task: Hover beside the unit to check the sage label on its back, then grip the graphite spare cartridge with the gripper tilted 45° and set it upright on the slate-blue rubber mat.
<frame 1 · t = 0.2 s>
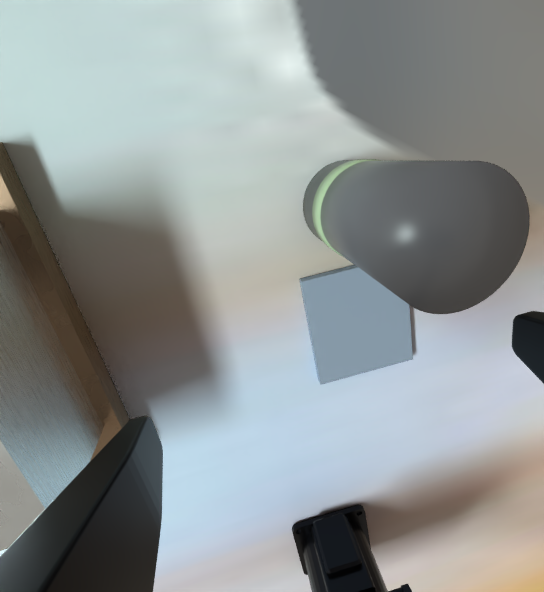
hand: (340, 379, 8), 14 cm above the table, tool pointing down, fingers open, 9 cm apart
spare cartridge: (343, 204, 22), on the table
slate mat: (357, 319, 25), on the table
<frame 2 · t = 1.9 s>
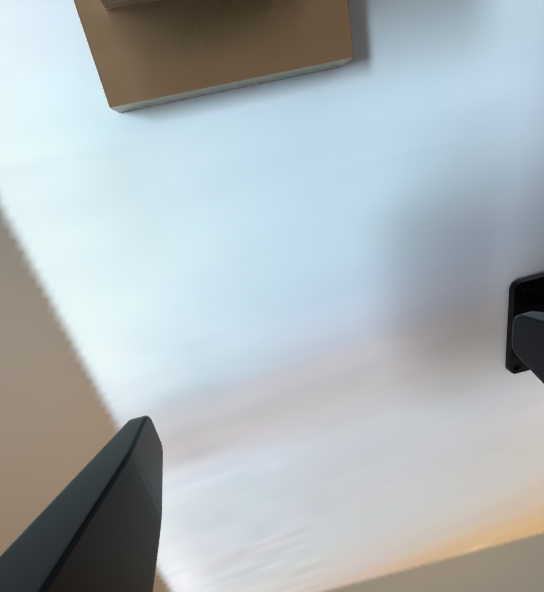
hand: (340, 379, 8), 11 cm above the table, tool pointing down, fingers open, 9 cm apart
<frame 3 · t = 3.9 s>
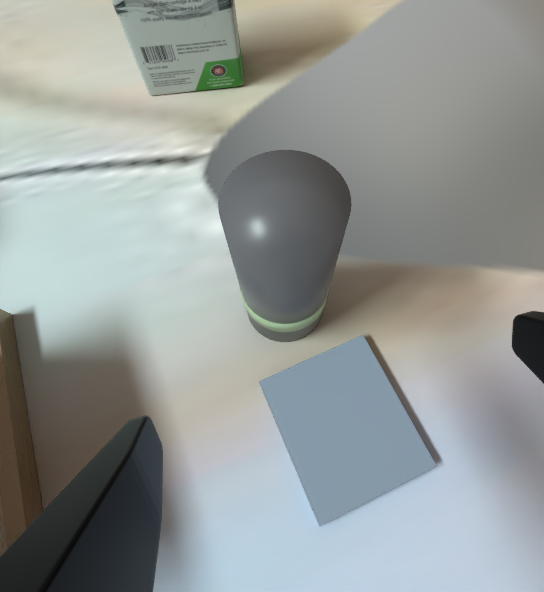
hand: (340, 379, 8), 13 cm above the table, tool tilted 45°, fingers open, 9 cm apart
ink box: (196, 76, 33), on the table
spare cartridge: (284, 305, 24), on the table
slate mat: (341, 422, 21), on the table
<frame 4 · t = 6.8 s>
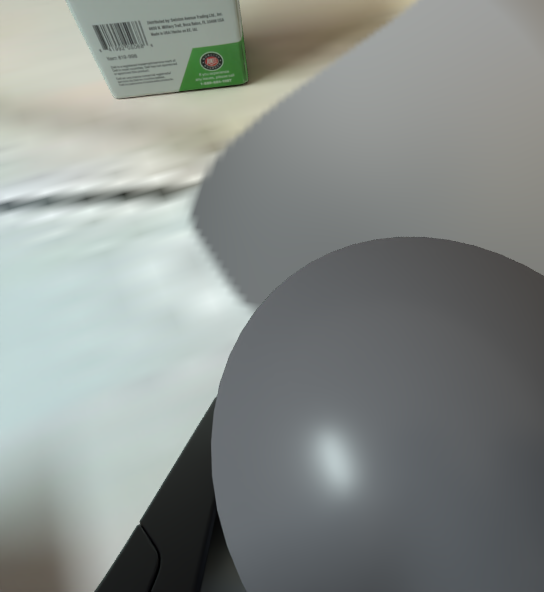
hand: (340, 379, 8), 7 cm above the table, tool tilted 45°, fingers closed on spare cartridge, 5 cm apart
ink box: (180, 71, 23), on the table
spare cartridge: (327, 444, 14), on the table, touching gripper
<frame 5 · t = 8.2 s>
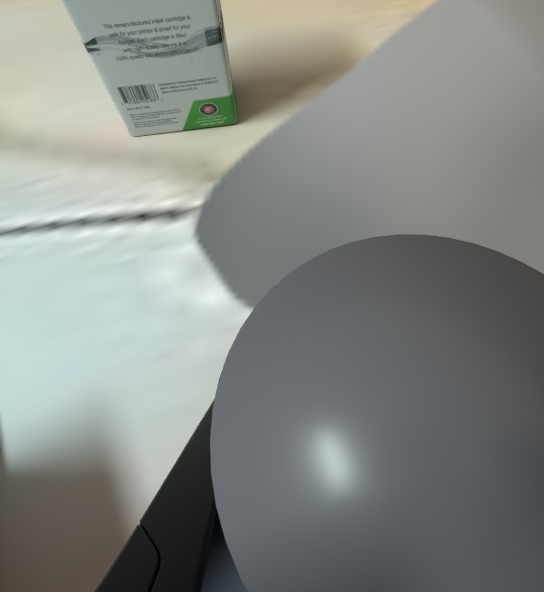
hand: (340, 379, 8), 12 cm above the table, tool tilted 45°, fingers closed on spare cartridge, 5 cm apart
ink box: (183, 112, 29), on the table
spare cartridge: (327, 443, 14), point 6 cm above the table, touching gripper
when the fingers open (8 cm above the table, at t = 10.0 s): spare cartridge drops 1 cm, resting on slate mat.
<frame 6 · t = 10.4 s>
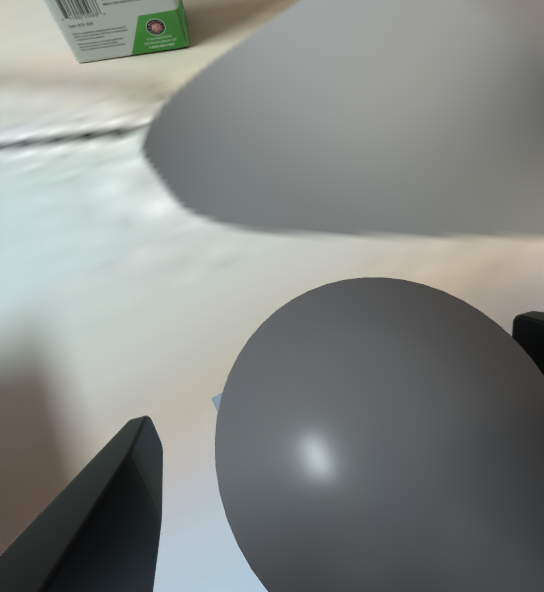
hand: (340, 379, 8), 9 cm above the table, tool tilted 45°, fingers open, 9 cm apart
ink box: (133, 40, 28), on the table
spare cartridge: (324, 445, 15), point 1 cm above the table, touching slate mat
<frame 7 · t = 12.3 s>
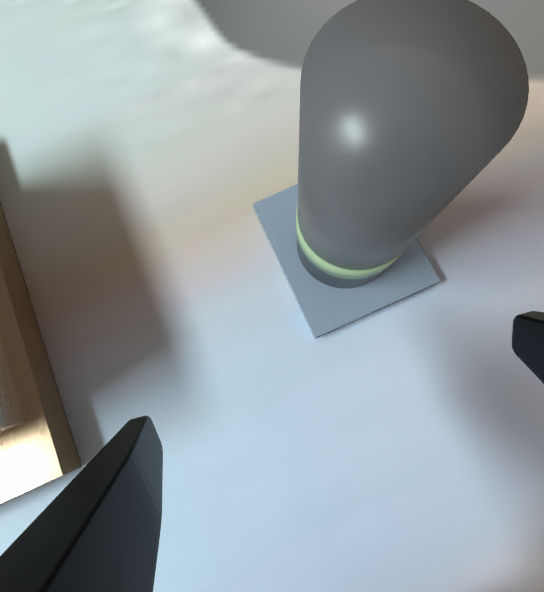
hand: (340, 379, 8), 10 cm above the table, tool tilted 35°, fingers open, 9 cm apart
spare cartridge: (344, 242, 19), point 1 cm above the table, touching slate mat
slate mat: (341, 244, 19), on the table
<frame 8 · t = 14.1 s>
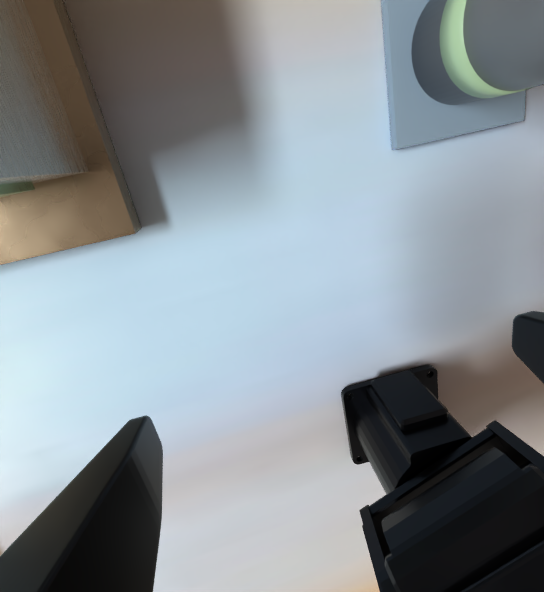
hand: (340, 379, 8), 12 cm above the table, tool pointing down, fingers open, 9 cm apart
spare cartridge: (461, 45, 17), point 1 cm above the table, touching slate mat
slate mat: (453, 47, 17), on the table
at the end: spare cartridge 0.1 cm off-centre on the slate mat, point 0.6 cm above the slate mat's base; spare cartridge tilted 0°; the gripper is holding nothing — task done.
